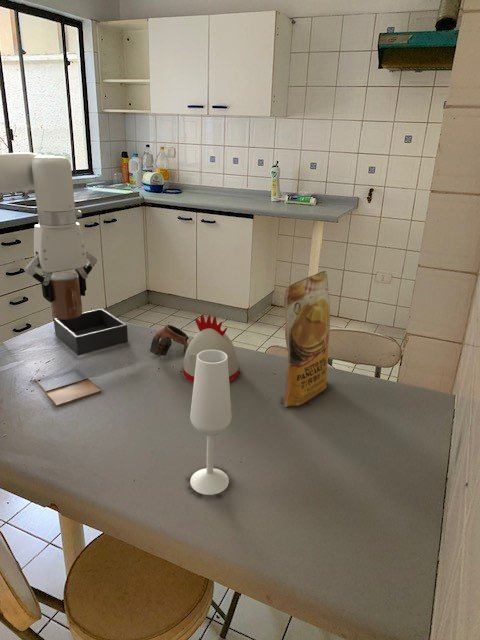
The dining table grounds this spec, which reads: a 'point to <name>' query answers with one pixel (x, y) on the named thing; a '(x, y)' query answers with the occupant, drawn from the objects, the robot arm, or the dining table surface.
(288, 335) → the pancake mix bag
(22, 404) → the dining table surface
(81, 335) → the dark grey open box
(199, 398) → the champagne flute
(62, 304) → the brown mug
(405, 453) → the dining table surface
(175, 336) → the pottery mug
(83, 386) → the wooden flat board
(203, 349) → the kitchen timer
